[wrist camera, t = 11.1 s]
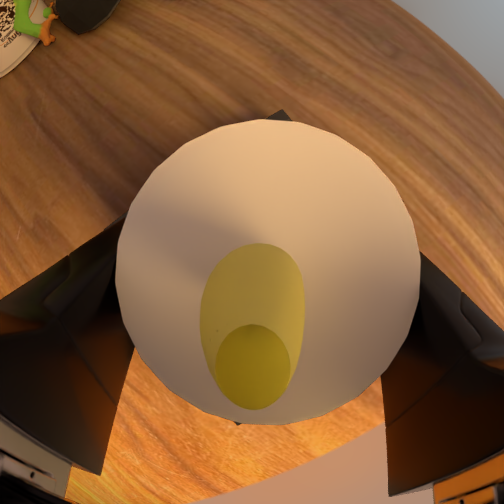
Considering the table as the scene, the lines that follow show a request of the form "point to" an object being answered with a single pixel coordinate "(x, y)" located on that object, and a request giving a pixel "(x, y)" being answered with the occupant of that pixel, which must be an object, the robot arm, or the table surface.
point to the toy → (27, 27)
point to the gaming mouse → (85, 13)
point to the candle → (268, 272)
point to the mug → (16, 34)
